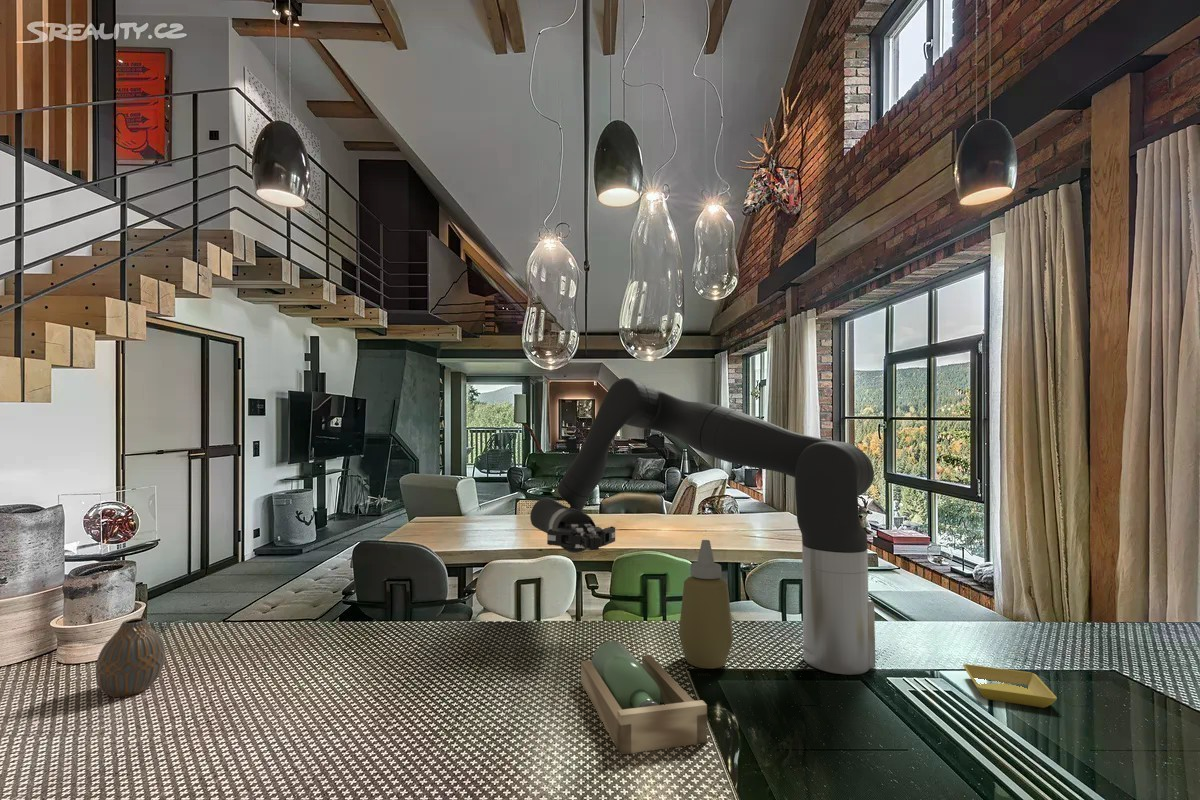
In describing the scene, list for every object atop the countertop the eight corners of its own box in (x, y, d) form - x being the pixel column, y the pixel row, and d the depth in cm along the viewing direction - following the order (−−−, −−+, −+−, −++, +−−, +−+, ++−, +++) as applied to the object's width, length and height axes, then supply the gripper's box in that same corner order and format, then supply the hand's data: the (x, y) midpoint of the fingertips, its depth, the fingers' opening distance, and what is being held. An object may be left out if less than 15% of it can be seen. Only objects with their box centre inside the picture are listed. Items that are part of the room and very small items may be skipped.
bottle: (624, 635, 79) (667, 683, 63) (633, 672, 79) (679, 730, 63) (587, 648, 77) (622, 702, 62) (597, 687, 77) (634, 749, 62)
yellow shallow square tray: (977, 703, 73) (977, 686, 74) (962, 677, 81) (962, 662, 82) (1059, 716, 70) (1058, 698, 70) (1035, 688, 78) (1034, 672, 78)
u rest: (650, 676, 79) (650, 647, 80) (706, 742, 62) (707, 704, 62) (580, 684, 77) (581, 653, 77) (620, 754, 60) (620, 715, 60)
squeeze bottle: (734, 675, 80) (733, 546, 81) (676, 670, 82) (677, 543, 83) (732, 654, 88) (732, 537, 89) (680, 650, 90) (680, 534, 91)
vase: (175, 683, 75) (180, 616, 76) (116, 706, 69) (122, 632, 69) (140, 675, 77) (145, 610, 78) (80, 697, 71) (85, 625, 71)
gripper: (536, 510, 106) (554, 521, 90) (604, 507, 110) (633, 518, 93) (536, 550, 106) (554, 570, 89) (604, 547, 109) (633, 565, 93)
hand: (594, 543), depth 91 cm, fingers closed
